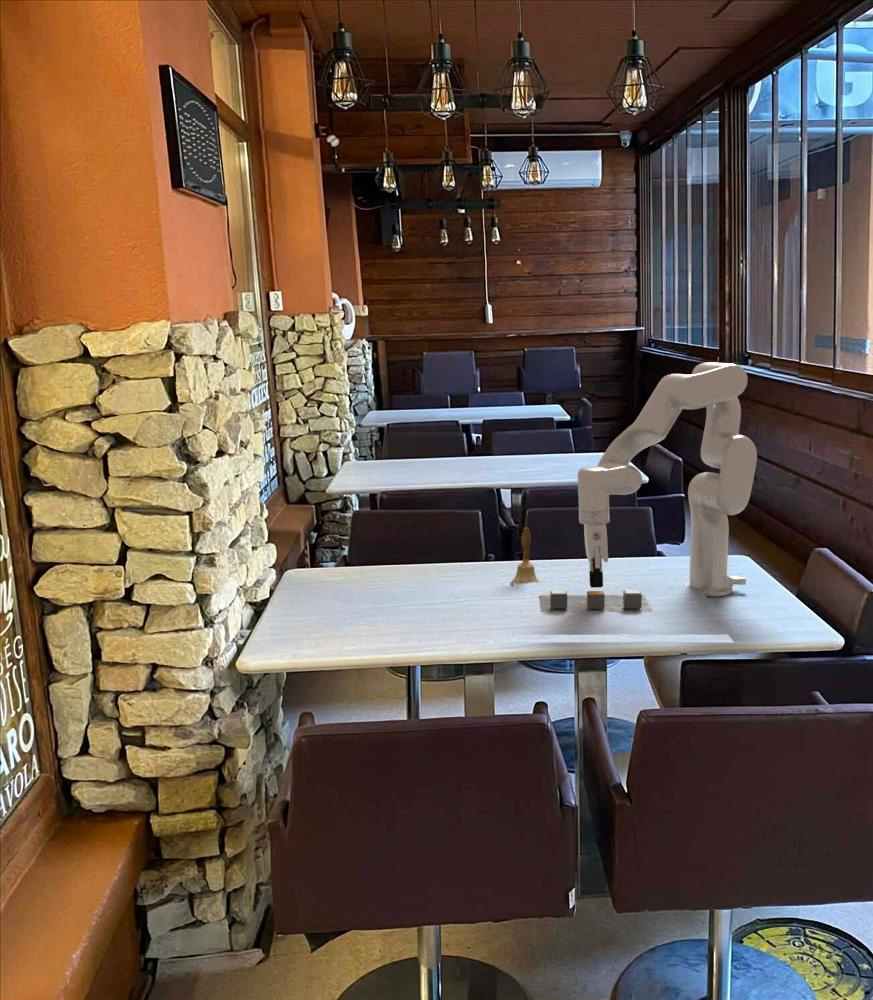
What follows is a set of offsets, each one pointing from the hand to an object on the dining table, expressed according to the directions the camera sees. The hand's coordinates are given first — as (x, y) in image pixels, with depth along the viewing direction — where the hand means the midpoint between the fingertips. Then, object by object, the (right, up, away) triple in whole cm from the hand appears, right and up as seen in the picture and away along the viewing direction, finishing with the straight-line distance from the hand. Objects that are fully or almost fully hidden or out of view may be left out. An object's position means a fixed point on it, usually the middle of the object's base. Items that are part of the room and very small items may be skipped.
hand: (596, 586), depth 240 cm
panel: (-1, -5, -3) cm, 6 cm away
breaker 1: (-10, -5, -6) cm, 13 cm away
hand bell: (-16, -1, +22) cm, 27 cm away
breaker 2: (+8, -5, -8) cm, 12 cm away
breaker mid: (-1, -5, -7) cm, 9 cm away
